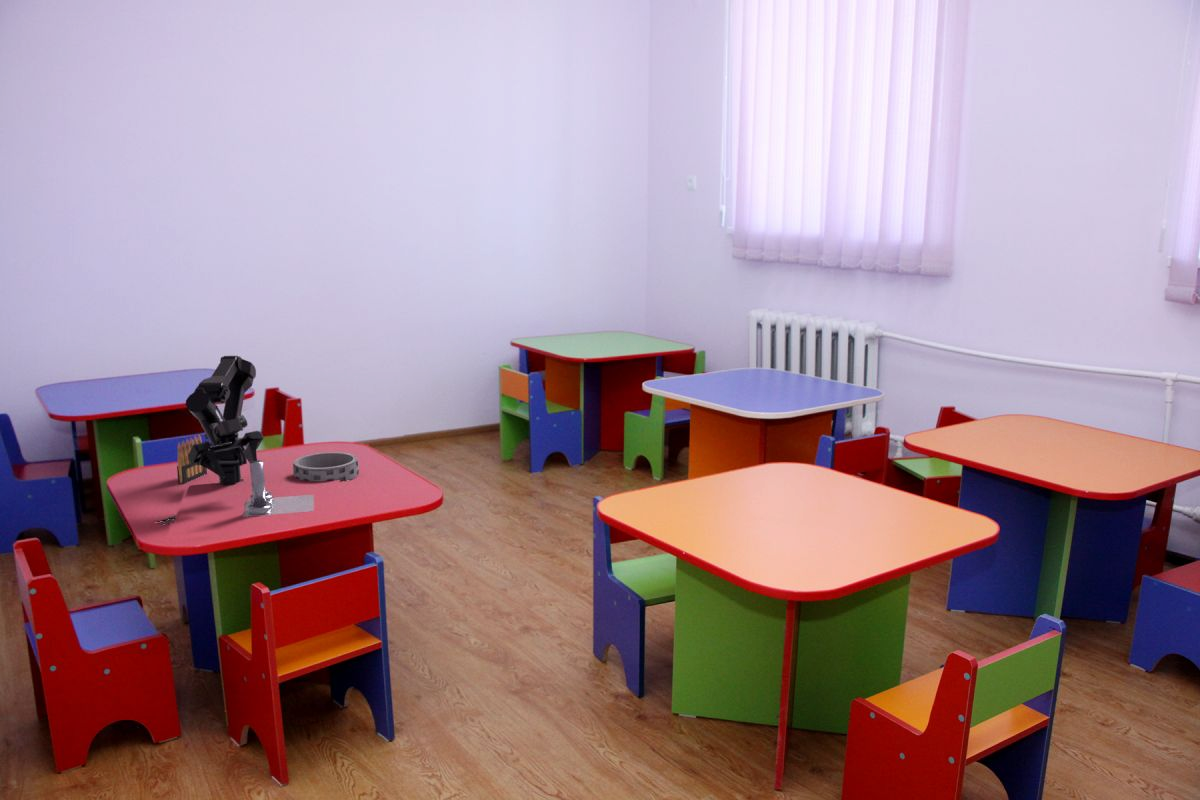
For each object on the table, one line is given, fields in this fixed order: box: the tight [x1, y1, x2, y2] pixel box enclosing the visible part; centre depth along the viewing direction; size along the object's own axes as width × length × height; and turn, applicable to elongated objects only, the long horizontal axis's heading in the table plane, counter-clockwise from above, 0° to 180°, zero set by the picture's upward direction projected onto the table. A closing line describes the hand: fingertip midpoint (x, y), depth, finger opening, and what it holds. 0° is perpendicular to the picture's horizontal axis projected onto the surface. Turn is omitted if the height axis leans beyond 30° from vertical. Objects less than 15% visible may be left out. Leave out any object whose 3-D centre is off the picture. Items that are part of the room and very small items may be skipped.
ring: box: [292, 451, 360, 483], centre depth 274 cm, size 18×18×5 cm
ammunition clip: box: [176, 434, 208, 485], centre depth 271 cm, size 11×2×12 cm, turn 167°
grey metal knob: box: [250, 489, 274, 504], centre depth 248 cm, size 6×6×2 cm
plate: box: [242, 494, 315, 518], centre depth 245 cm, size 14×17×1 cm
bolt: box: [248, 459, 272, 516], centre depth 239 cm, size 6×6×13 cm
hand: (240, 473), depth 244 cm, fingers open, 9 cm apart
